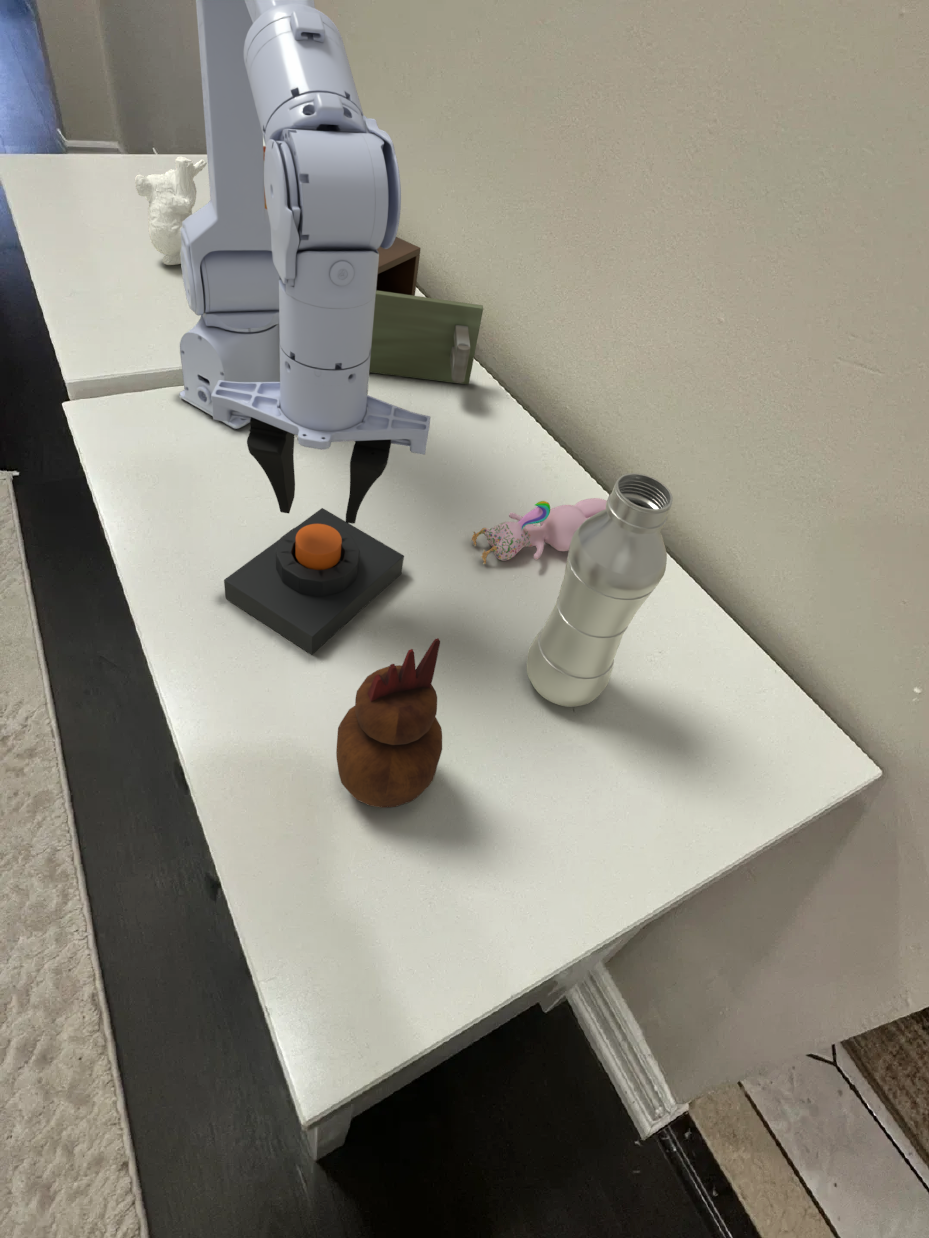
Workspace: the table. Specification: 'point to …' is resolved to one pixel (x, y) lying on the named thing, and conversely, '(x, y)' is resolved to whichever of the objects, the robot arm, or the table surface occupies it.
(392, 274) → the cupboard
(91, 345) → the table surface
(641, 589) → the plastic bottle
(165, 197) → the koala figurine
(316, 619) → the control block
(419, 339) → the cupboard door
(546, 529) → the pink plastic animal figure
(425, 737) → the wooden figurine
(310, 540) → the button
